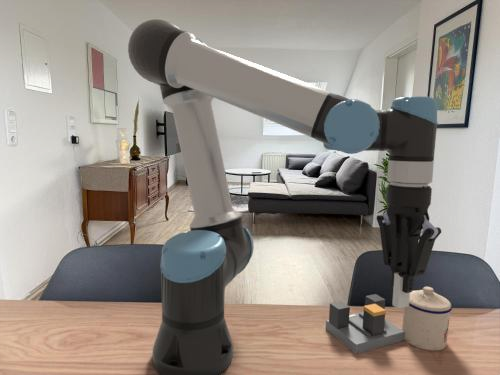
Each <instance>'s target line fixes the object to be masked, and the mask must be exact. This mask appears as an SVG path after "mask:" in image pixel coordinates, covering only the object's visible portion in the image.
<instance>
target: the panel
mask: <svg viewBox="0 0 500 375" xmlns="http://www.w3.org/2000/svg"><path fill="white" fill-rule="evenodd" d="M371 304H376V305H378V306H380V307H381V308H383V309H385V310H386V308H385V306H386V299H385V298H384V297H382V296H381V295H378V294H376V293H374V294H370V295H369V294H368V295H365V301H364V306H366V305H371ZM350 310H351V307H350V305H348V304H346V303H344V302H343V301H342V300H338V301H334V302H330V303H329V314H328V319H325V329H326V330H327V331H328V332H329V333H330V334H332V335H333V336H334V337H335V338H336V339H337V340H339V341H340V342H341V343H342V344H344V346H346V347H347V348H348V349H349V350H350V351H352V353H354V354H355V355H356V354H360V353H364V352H367V351H372V350H374V349H378V348H382V347H385V346H389V345H393V344H397V343H398V342H399V343H401V342H403V341H405V339H404V336H405V331H403V330H402V328H401V327H398V326H397V325H395V324H394V323H392V322H391V321H389V320H387V319H386V318H385V323H384V334H380V335H376V336H371V334H370V333H369V332H367V331H366V330H364V329H363V314H364V311H362V312H358V313H357V312H356V313H353V314H350Z"/></svg>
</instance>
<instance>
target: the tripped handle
mask: <svg viewBox="0 0 500 375" xmlns="http://www.w3.org/2000/svg"><path fill="white" fill-rule="evenodd" d="M363 312H364V314H363V329H364V330H366V331H367V332H369V333H370V334H371V336H376V335H380V334H384V323H385V319H386V312H387V310H386V308H385V309H383V308H381V307H380V306H378V305H376V304H371V305H366V306H365V305H363Z"/></svg>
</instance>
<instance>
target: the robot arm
mask: <svg viewBox="0 0 500 375" xmlns="http://www.w3.org/2000/svg"><path fill="white" fill-rule="evenodd" d="M127 46H128V48H127V49H128V50H127V53H128V58H129V61H130V63H131V65H132V67H133V69H134V70H135V72H137V74H138V75H139V76H140V77H142V79H144V80H147V81H148V82H150V83H153V84H155V85H158V86H159V87H160V88H159V89H160V93H161V98H162V102H163V104H164V105H166V106H167V107H168V108H170V109H171V110H172V115H173V120H174V124H175V129H176V135H177V139H178V144H179V148H180V153H181V159H182V162H183V167H184V171H185V176H186V181H187V186H188V191H189V195H190V200H191V205H192V210H193V214H194V218H193V219H192V220H191V222H190V224H189V229H190V230H188V231H187V232H180V233H177V234H175V235H173V236H172V237H171V236H170V238H168V239H167V240H166V242H165V243H164V244H163V246H162V249H161V259H160V263H159V264H160V265H159V266H160V272H161V273H160V274H161V275H160V276H161V277H160V278H161V323H160V326H159V328H158V332H157V335H156V338H155V341H154V344H153V347H152V364H153V368H154V369H155V370H156V372H157V373H158V374H159V375H220V374H221V373H223V372H224V371H225V370H227V368H228V367H229V366H230V364H231V362H232V359H233V356H234V355H233V354H234V352H233V351H234V345H233V340H232V337H231V333H230V330H229V328H228V325H227V322H226V319H225V289H226V287H227V286H228V285H229V284H230V283H231V282H232V281H233V279H235V278H236V277H237V275H239V274H240V273H241V272H243V271H244V270H245V269H246V268H247V266H248V265H249V263H250V260H251V259H252V257H253V253H254V247H255V246H254V239H253V236H252V234H251V232H250V230H249V229H248V228H247V227H245V226H244V224H243V219H242V215H241V213H239V212H238V211H237V210H235V209H234V208H233V203H232V198H231V193H230V190H229V185H228V178H227V175H226V174H227V173H226V170H225V169H226V168H225V164H224V160H223V154H222V149H221V146H220V140H219V136H218V131H217V125H216V121H215V116H214V111H213V106H212V101H213V100H214V98H215V99H217V100H219V101H222V102H224V103H226V104H229V105H231V106H234V107H237V108H239V109H241V110H244V111H247V112H248V113H252V114H254V115H255V116H258V117H260V118H264V119H266V120H269V121H271V122H273V123H275V124H278V125H280V126H283V127H285V128H288V129H290V130H293V131H295V132H297V133H300V134H302V135H304V136H307V137H309V138H312V139H314V140H315V141H319V142H321V143H323V147H324V148H325V150H328V151H337V152H342V153H345V154H348V155H349V154H350V155H353V154H358V153H362V152H363V151H364V152H370V151H372V152H376V151H380V152H386V151H387V152H388V163H387V164H388V166H387V174H386V175H387V179H386V181H388V182H389V183H388V184H387V186H386V192H385V193H386V196H385V202H386V204H388V207H387V209H386V212H385V213H383V214H380V215H377V216H376V221H377V224H378V226H379V231H380V232H379V233H380V240H381V249H382V259H383V263H384V265H385V266H389V268H390V270H391V286H392V288H393V290H392V291H393V292H392V302H391V303H392V304H391V306H393V308H396V309H402V308H403V309H404V307H408V306H409V298H410V292H412V291H414V282H415V281H414V280H415V277H419V276H423V275H425V273H426V270H427V267H428V263H429V260H430V257H431V255H432V251H433V249H434V244H435V241H436V240H437V239H438V238H439V236H440V234H442V229H441V228H440V227H435V226H434V225H433V224H432V222H430V215H429V213H428V212H429V211H428V210H429V208H430V206H431V204H432V202H431V201H432V191H433V188H431V186H430V184H431V183H433V174H434V163H435V161H434V160H435V149H436V141H437V140H436V138H437V130H438V129H437V127H438V102H437V100H436V99H435V98H433V97H432V96H421V95H418V96H417V95H414V96H413V95H411V96H403V97H402V96H401V97H397V98H394V99H393V100H392V101H391V106H390V108H388V109H374V108H373V107H372V106H371V104H369V103H367V102H365V101H363V100H361V99H351V98H347V97H344V96H342V95H340V94H336V93H333V92H331V91H328V90H327V89H324V88H320V87H318V86H317V85H313V84H310V83H307V82H306V81H305V82H304V81H303V80H299V79H297V78H294V77H291V76H288V75H287V74H283V73H280V72H278V71H276V70H272V69H270V68H268V67H264V66H262V65H259V64H257V63H253V62H251V61H248V60H245V59H243V58H242V57H241V58H240V57H237V56H234V55H232V54H230V53H228V52H227V53H226V52H224V51H221V50H219V49H216V48H213V47H210V46H208V45H207V44H206V43H204V42H203V40H201V39H199V38H197V37H196V36H195V35H194V34H193V33H191V32H188V31H185V30H183V29H182V28H180V27H178V26H177V25H175V24H174V23H172V22H170V21H167V20H163V19H149V20H145V21H144V22H142V23H140V24H138V26H137V27H135V28H134V30H133V31H132V32H131V35H130V37H129V41H128V45H127Z"/></svg>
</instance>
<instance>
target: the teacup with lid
mask: <svg viewBox="0 0 500 375" xmlns="http://www.w3.org/2000/svg"><path fill="white" fill-rule="evenodd" d="M452 310H453V307H452V304H451V302H450V301H449V299H447V298H446V297H445V296H442V295H440V294H438V293H436V292H435V290H434V288H433V287H431V286H424V287H423V288H422V289H419V290H418V289H417V290H413V291H412V292H410V298H409V306H408V307H404V308H403V314H402V315H403V316H402V326H401V327H402V328H401V329H402V330H403V331H405V336H404V341H406V342H407V343H408V344H410V345H412V346H414V347H416V348H418V349H422V350H424V351H425V350H426V351H432V352H434V351H441V350H444V349H445V348H446V347H447V343H448V335H449V334H448V333H449V324H450V315H451V311H452Z"/></svg>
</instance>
